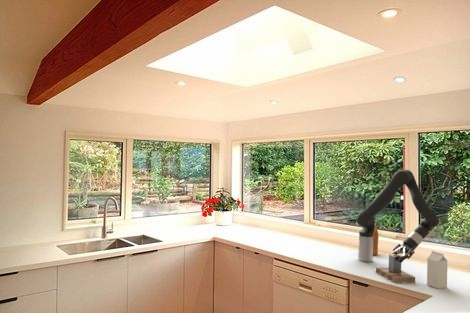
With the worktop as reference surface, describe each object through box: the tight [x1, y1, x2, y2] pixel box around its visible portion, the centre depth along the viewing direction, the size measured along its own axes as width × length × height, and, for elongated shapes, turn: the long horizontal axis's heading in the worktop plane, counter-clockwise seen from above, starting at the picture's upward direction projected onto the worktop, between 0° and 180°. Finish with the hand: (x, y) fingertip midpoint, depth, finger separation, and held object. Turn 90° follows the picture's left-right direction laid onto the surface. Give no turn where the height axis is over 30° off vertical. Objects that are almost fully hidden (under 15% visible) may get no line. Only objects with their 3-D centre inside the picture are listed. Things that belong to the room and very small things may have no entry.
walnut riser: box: [375, 266, 416, 284], centre depth 214 cm, size 20×13×3 cm, turn 8°
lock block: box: [388, 253, 402, 273], centre depth 214 cm, size 5×5×11 cm
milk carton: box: [426, 250, 448, 290], centre depth 200 cm, size 7×7×19 cm
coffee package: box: [373, 225, 379, 256], centre depth 272 cm, size 10×12×22 cm
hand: (395, 259), depth 214 cm, fingers open, 8 cm apart
